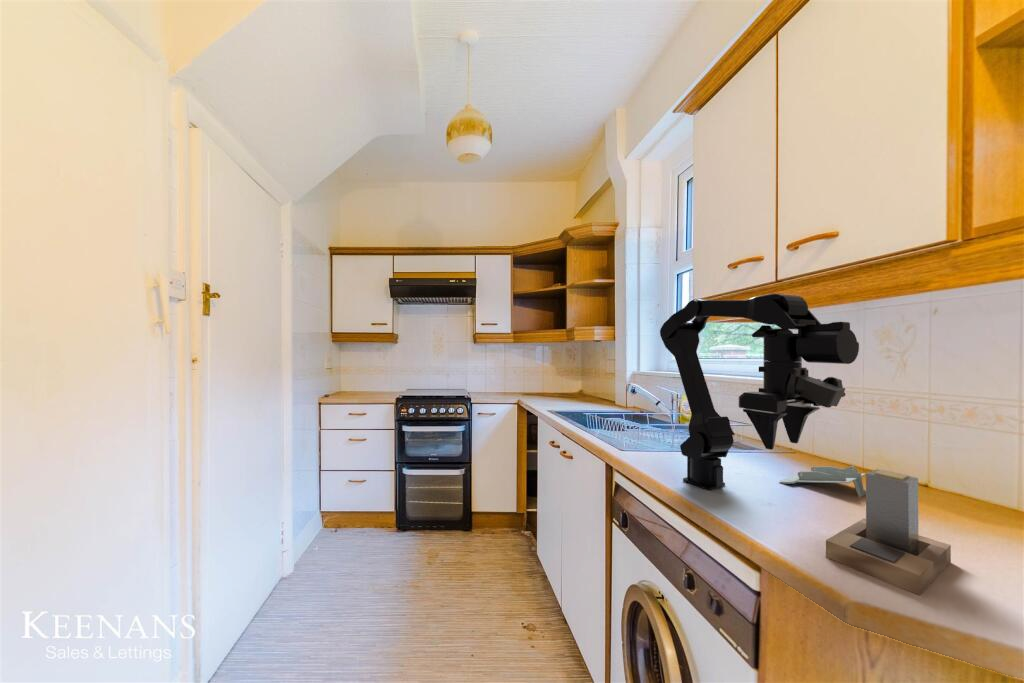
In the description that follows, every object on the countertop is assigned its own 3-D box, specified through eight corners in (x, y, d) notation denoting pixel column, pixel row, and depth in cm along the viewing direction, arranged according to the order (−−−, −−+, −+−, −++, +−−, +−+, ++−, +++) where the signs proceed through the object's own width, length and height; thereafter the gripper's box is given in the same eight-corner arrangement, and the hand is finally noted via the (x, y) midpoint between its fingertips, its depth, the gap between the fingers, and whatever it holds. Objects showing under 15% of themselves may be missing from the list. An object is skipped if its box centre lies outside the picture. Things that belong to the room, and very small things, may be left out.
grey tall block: (866, 552, 55) (865, 471, 56) (877, 545, 58) (876, 467, 58) (908, 568, 52) (908, 481, 52) (918, 559, 54) (918, 476, 54)
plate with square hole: (825, 557, 54) (825, 538, 54) (863, 533, 61) (863, 517, 61) (919, 595, 46) (919, 573, 46) (950, 562, 53) (950, 543, 53)
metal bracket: (871, 463, 82) (846, 474, 74) (881, 491, 81) (857, 505, 73) (798, 464, 94) (770, 474, 86) (806, 488, 92) (778, 500, 84)
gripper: (811, 364, 56) (812, 466, 56) (859, 363, 65) (859, 450, 65) (737, 361, 66) (736, 448, 65) (787, 360, 75) (787, 436, 75)
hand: (782, 445), depth 67 cm, fingers open, 9 cm apart
